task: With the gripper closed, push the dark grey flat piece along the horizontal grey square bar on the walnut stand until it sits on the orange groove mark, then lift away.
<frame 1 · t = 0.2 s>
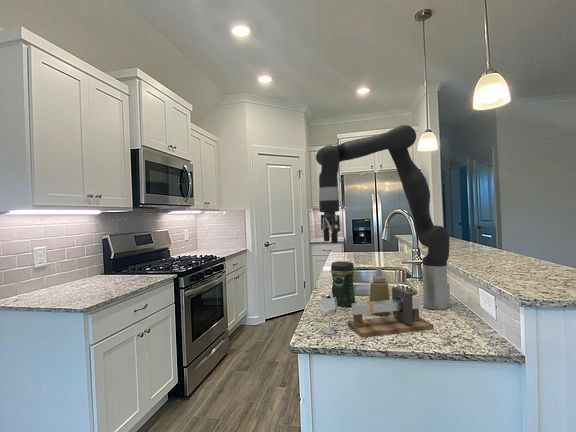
hand: (330, 242, 131), 29 cm above the counter, tool pointing down, fingers open, 8 cm apart
wineglass: (329, 332, 118), on the counter
pipe board: (389, 327, 120), on the counter
grey square bar: (386, 305, 120), on the pipe board, point 8 cm above the counter
squeeze bottle: (380, 313, 136), on the counter
dark grey flat piece: (402, 304, 121), point 8 cm above the counter, slide at 0.0 cm
coffee jar: (343, 304, 150), on the counter
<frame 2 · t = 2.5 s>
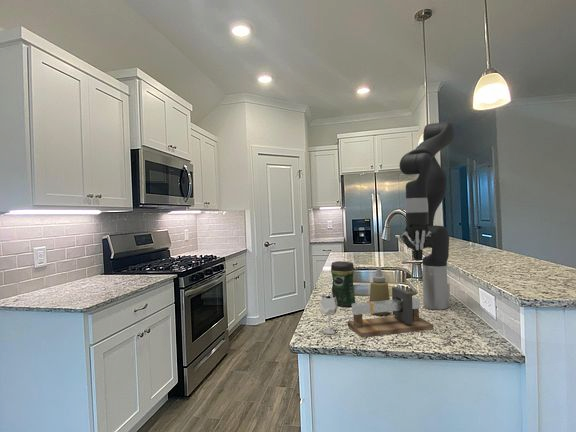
hand: (417, 260, 122), 23 cm above the counter, tool pointing down, fingers closed
nothing on the counter moved.
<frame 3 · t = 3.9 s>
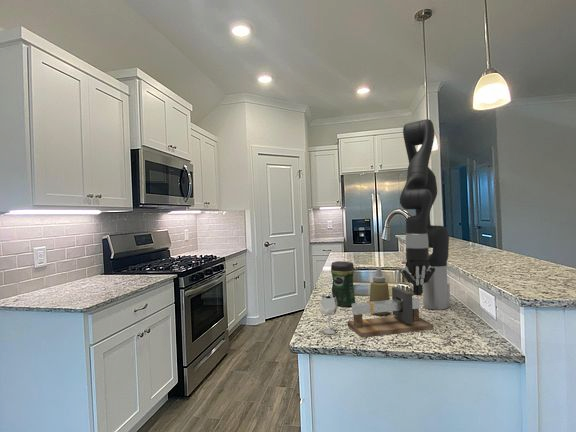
hand: (418, 295, 122), 10 cm above the counter, tool pointing down, fingers closed
nothing on the counter moved.
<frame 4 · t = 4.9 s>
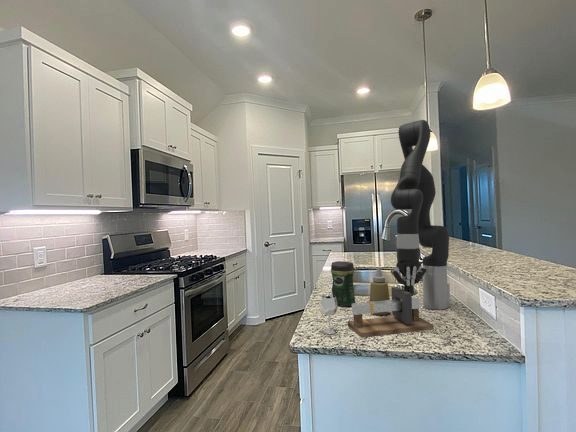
hand: (408, 295, 121), 10 cm above the counter, tool pointing down, fingers closed
dark grey flat piece: (401, 304, 121), point 8 cm above the counter, slide at 0.2 cm, touching gripper
everything else where it was.
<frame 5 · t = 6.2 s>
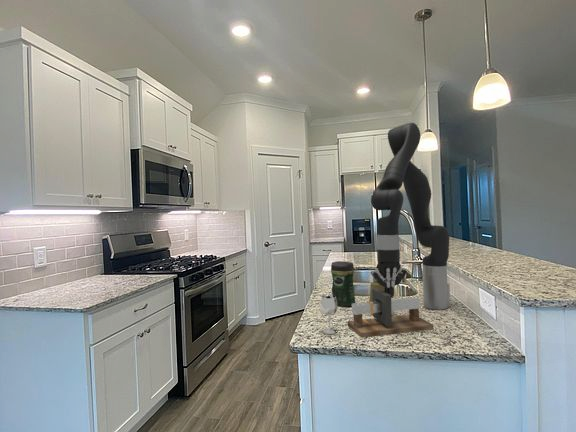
hand: (389, 297, 120), 10 cm above the counter, tool pointing down, fingers closed
dark grey flat piece: (381, 306, 119), point 7 cm above the counter, slide at 7.7 cm, touching gripper
everything else where it was.
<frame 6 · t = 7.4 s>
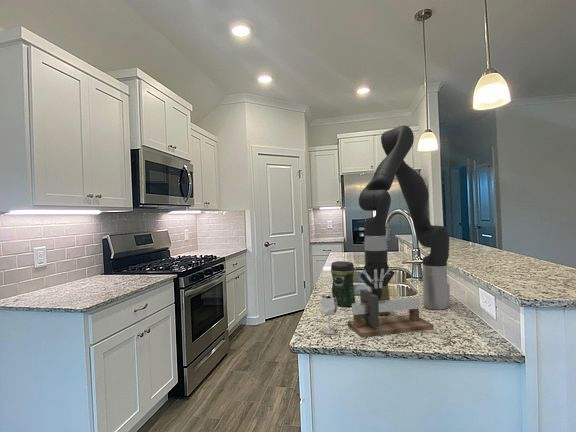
hand: (377, 298, 119), 10 cm above the counter, tool pointing down, fingers closed
dark grey flat piece: (369, 307, 119), point 7 cm above the counter, slide at 12.3 cm, touching gripper
everything else where it was.
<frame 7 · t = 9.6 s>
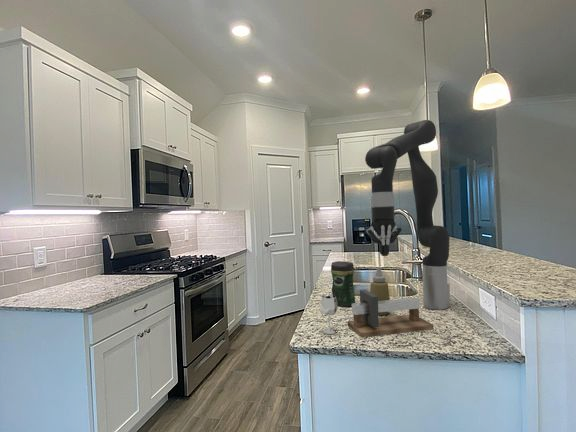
hand: (384, 255, 120), 25 cm above the counter, tool pointing down, fingers closed
dark grey flat piece: (368, 307, 118), point 7 cm above the counter, slide at 12.4 cm
everything else where it was.
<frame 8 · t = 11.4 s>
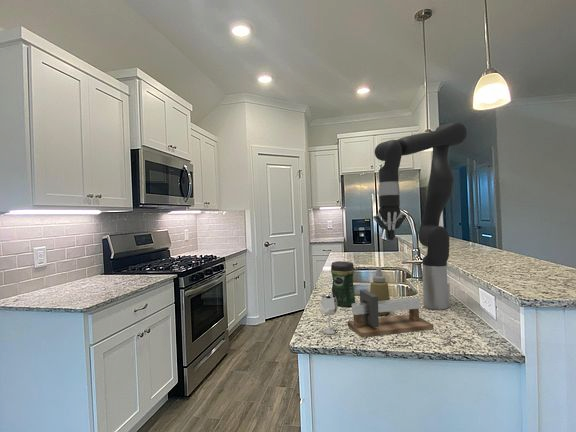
hand: (390, 239, 132), 29 cm above the counter, tool pointing down, fingers closed
nothing on the counter moved.
at the end: dark grey flat piece slide at 12.4 cm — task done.
